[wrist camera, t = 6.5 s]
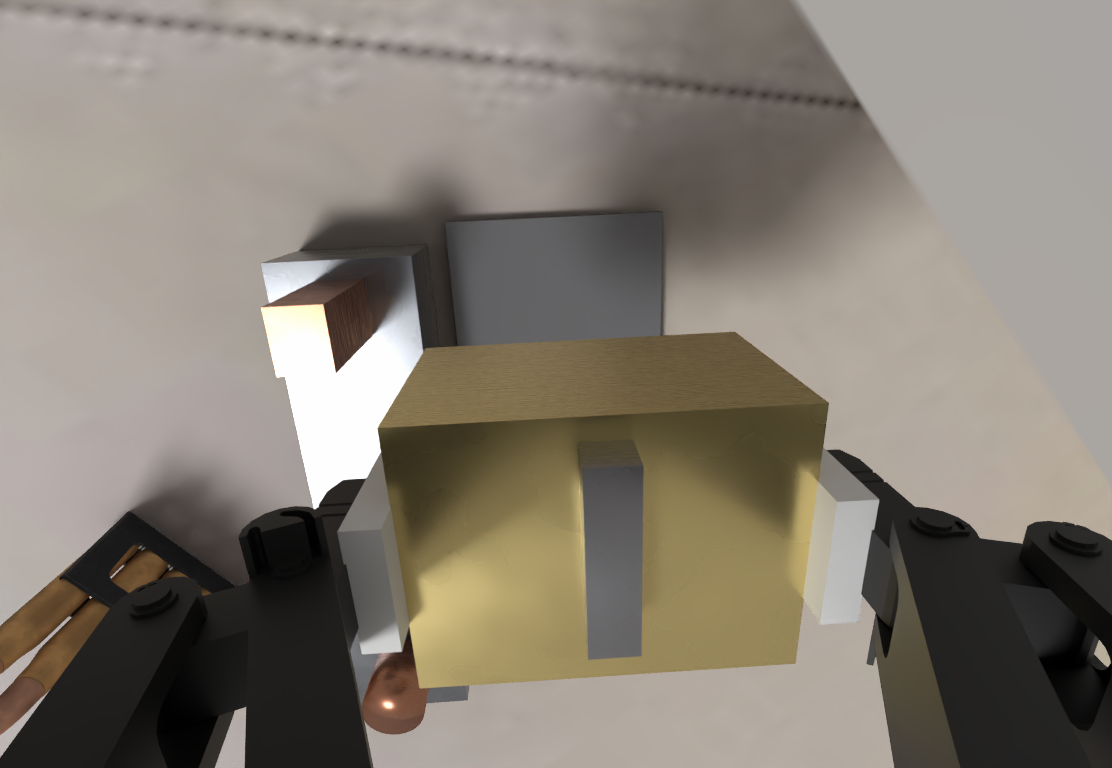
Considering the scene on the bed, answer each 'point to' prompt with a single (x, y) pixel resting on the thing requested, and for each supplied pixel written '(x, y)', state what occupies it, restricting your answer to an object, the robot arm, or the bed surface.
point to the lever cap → (601, 507)
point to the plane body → (354, 402)
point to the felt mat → (556, 278)
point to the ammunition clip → (87, 605)
